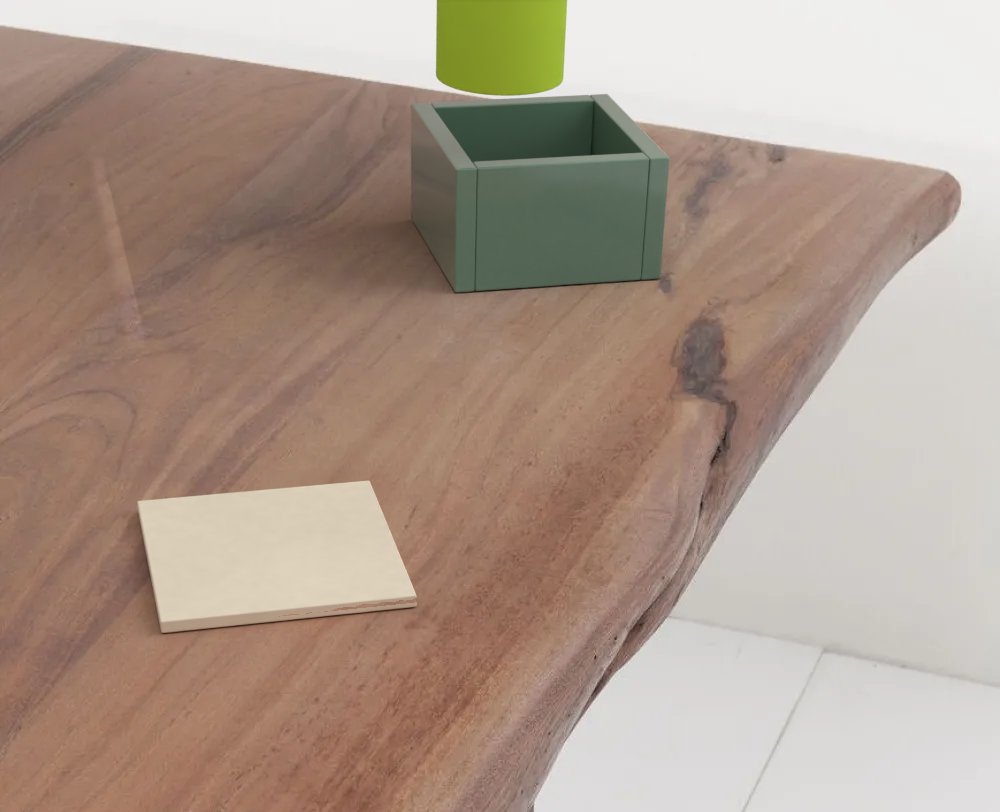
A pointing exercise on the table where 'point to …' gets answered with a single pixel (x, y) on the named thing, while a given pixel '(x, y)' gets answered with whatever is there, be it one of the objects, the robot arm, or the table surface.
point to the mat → (270, 556)
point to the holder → (537, 192)
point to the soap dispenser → (501, 45)
